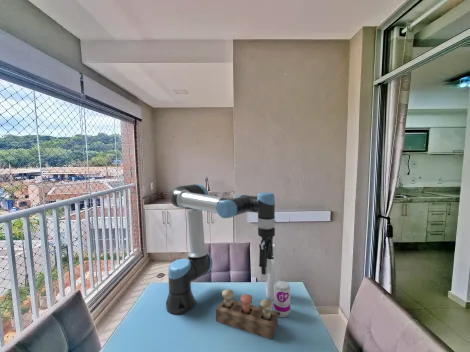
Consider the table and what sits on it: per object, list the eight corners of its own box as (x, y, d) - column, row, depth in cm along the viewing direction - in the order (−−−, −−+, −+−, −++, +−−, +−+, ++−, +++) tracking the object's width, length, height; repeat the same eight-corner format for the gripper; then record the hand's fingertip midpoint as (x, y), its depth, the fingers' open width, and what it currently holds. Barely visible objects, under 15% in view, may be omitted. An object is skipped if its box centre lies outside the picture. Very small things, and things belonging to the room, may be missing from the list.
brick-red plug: (238, 313, 103) (238, 299, 103) (243, 306, 108) (243, 293, 108) (249, 317, 101) (249, 302, 101) (254, 309, 106) (253, 295, 106)
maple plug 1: (220, 308, 107) (220, 294, 107) (225, 301, 113) (225, 288, 112) (230, 311, 105) (230, 297, 105) (235, 304, 110) (235, 290, 110)
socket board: (216, 321, 106) (215, 309, 106) (225, 308, 115) (225, 297, 115) (272, 339, 95) (272, 326, 94) (277, 324, 104) (277, 312, 103)
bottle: (280, 293, 129) (280, 243, 127) (278, 301, 121) (278, 248, 119) (267, 290, 131) (266, 241, 130) (264, 298, 124) (264, 246, 122)
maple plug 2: (259, 319, 99) (258, 304, 99) (262, 312, 104) (262, 297, 104) (271, 323, 97) (271, 308, 96) (274, 315, 102) (274, 300, 102)
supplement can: (290, 319, 107) (290, 289, 106) (273, 316, 109) (273, 287, 108) (289, 308, 115) (289, 280, 114) (274, 306, 117) (273, 279, 116)
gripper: (268, 234, 88) (268, 289, 89) (279, 222, 106) (279, 268, 107) (251, 232, 91) (251, 285, 92) (264, 220, 109) (264, 265, 110)
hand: (266, 276), depth 100 cm, fingers open, 6 cm apart
